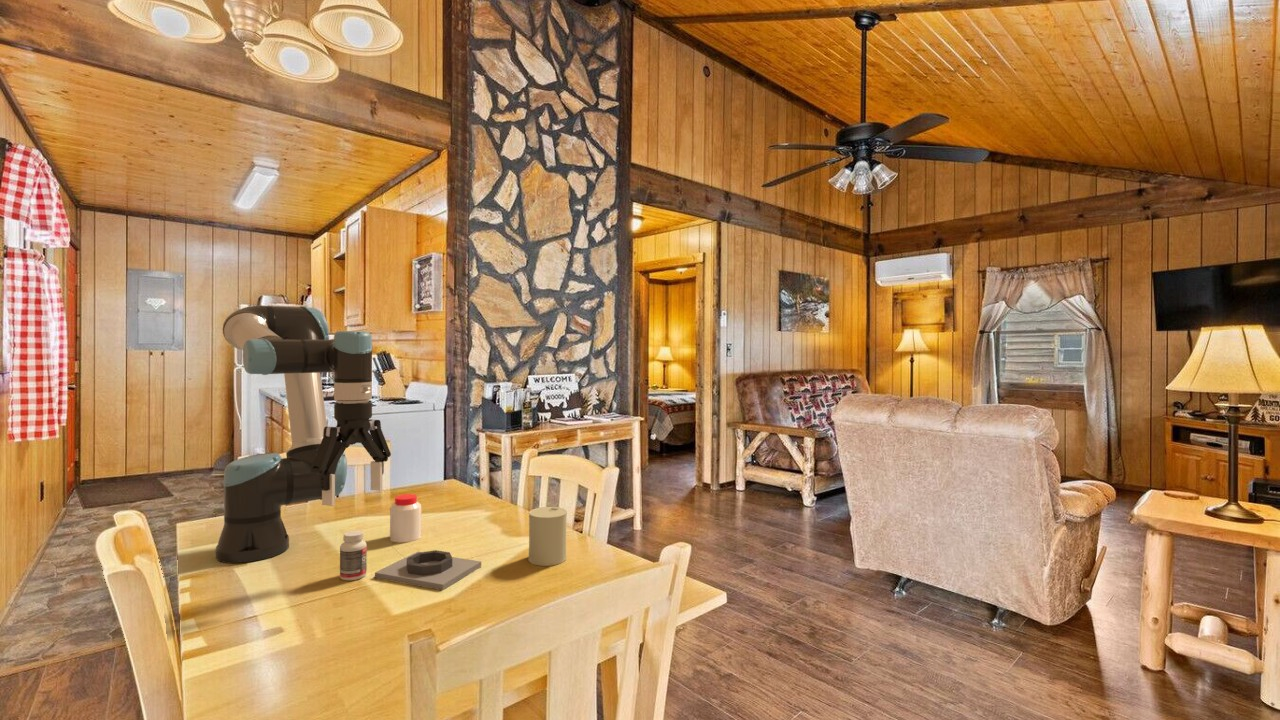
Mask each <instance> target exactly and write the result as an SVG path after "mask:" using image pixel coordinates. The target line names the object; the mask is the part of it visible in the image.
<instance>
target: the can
mask: <svg viewBox="0 0 1280 720" xmlns="http://www.w3.org/2000/svg"><path fill="white" fill-rule="evenodd" d="M567 514H568V513H567V509H565V508H562V507H560V506H559V507H557V506H542V507H536V508H533V509H530V511H529V512H528V518H529V519H528V525H529V526H528V529H529V530H528V531H529V532H528V533H529V534H528V540H529V541H528V559H527V560H528V562H529V563H530V564H532V565H534V566H541V567H548V566H549V567H553V566H557V565H560V564H563V563H564V562H566V561H567V558H568V557H567ZM562 562H563V563H562Z"/></svg>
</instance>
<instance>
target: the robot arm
mask: <svg viewBox="0 0 1280 720" xmlns="http://www.w3.org/2000/svg"><path fill="white" fill-rule="evenodd" d="M329 334H330V329H329V325H328V322H327V318H326V316H325V315H324V313H323V312H322V311H321V310H320V309H317V308H313V307H306V306H278V305H276V306H274V305H261V304H260V305H259V304H258V305H251V306H245V307H242V308H240V309H238V310H236V311H234V312H232V313H231V314H230V315H228V316H227V317H226V318H225V320H224V321H223V324H222V335H223V337H224V339H225V341H226V342H227V343H228V344H229V345H231V346H232V347H233V348H235V349H237V350H240V351H242V364H243V368H244V370H245V372H246V374H247V373H248V374H250V375H262V376H267V375H276V374H277V375H279V374H283V375H284V376H283V377H284V383H285V384H284V385H285V392H286V393H285V394H286V402H287V412H288V419H289V428H290V438H291V439H290V440H291V446H290V447H289V448H288V449H287V451H286V457H285V458H282V456H281V455H280V453H278V452H267V453H260V454H259V453H258V454H254V455H250V456H245V457H241V458H238V459H235V460H233V461H232V462H229V463H228V464H227V465H226V466H225V468H224V472H223V473H224V474H223V482H222V486H223V502H224V503H223V509H224V511H223V513H224V514H223V517H224V518H223V528H222V530H221V533H220V536H219V538H218V543H217V545H216V546H215V559H216V560H217V559H218V560H220V561H219V562H221V561H223V562H222V563H228V562H229V563H230V564H233V563H234V564H236V563H239V562H240V563H249V562H250V563H251V562H256V561H262V560H266V559H269V558H273V557H275V556H278V555H280V554H282V553H284V552H286V551H287V550H288V549H289V548H290V537H289V534H288V533H287V529H286V527H285V524H284V521H283V519H282V511H281V509H282V506H286V505H293V504H300V503H305V502H311V501H317V500H320V501H321V505H322V506H328V507H334V506H336V497H337V496H338V495H340V494H341V492H342V491H343V489H344V488H345V484H346V481H347V475H348V461H347V456H346V453H345V451H346V449H348V448H349V447H350V446H353V445H355V444H361V445H362V446H363V447H364V449H365V451H366V452H367V453H368V454H369V456H370V457H371V458H372V460H373V461H370V490H371V491H376V492H377V491H378V492H379V491H383V475H384V474H385V473H384V470H385V469H384V464H385V462H387V461H388V460H389V458H390V457H391V455H392V454H391V450H390V447H389V446H388V443H387V440H386V438H385V435H384V432H383V430H382V425H381V420H380V419H373V402H371V401H370V400H372V397H373V391H372V389H373V387H372V386H373V383H372V381H373V380H372V379H373V361H372V360H373V341H372V335H371V333H370V332H369V331H359V330H358V331H357V330H354V331H353V330H350V331H349V330H339V331H336V332H335V333H334V335H333V339H330V336H329ZM322 373H323V374H325V373H328V374H329V373H333V376H334V377H333V389H334V390H333V400H335V401H336V402H335V403H334V405H333V415H334V416H333V417H334V419H335V421H336V425H335V426H328V422H327V415H326V409H325V408H326V406H325V399H324V398H325V397H324V392H323V390H324V389H323V385H322V383H323V382H322V378H321V376H322V375H321V374H322ZM371 418H372V419H371ZM218 560H217V561H218Z"/></svg>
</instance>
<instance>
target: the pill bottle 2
mask: <svg viewBox="0 0 1280 720" xmlns="http://www.w3.org/2000/svg"><path fill="white" fill-rule="evenodd" d="M389 516H390V518H389V540H390V541H391V542H394V543H400V544H401V543H402V544H403V543H411V542H415V541H418V540H419V539H421V538H422V504H421V502H419V501H418V496H417V495H416V494H413V493H412V494H411V493H406V494H399V495H396V496H394V503H393V504H392V505H391V506H390V507H389Z"/></svg>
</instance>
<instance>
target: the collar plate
mask: <svg viewBox="0 0 1280 720" xmlns="http://www.w3.org/2000/svg"><path fill="white" fill-rule="evenodd" d="M481 567H482V561H480V560H474V559H468V558H461V557H457V556H456V557H455V556H452V554H451V552H449V551H443V550H434V549H433V550H428V551H416V552H414V553H411V554H409V555H408V556H405V557H403V558H402V559H399V560H398V561H395V562H393V563H392V564H389V565H387V566H385V567H383V568H382V569H379V570H377V571H375V572H374V579H379V580H385V581H390V582H394V583H395V582H396V583H401V584H406V585H410V586H411V585H412V586H417V587H418V586H419V587H424V588H427V589H435V590H439V591H444V590H446V589H448V588H449V587H451V586H452V585H454V584H455V583H457V582H459V581H460V580H462V579H464V578H465V577H467V576H468V575H470V574H473V572H475V571H477V570H478V569H480V568H481Z"/></svg>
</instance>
